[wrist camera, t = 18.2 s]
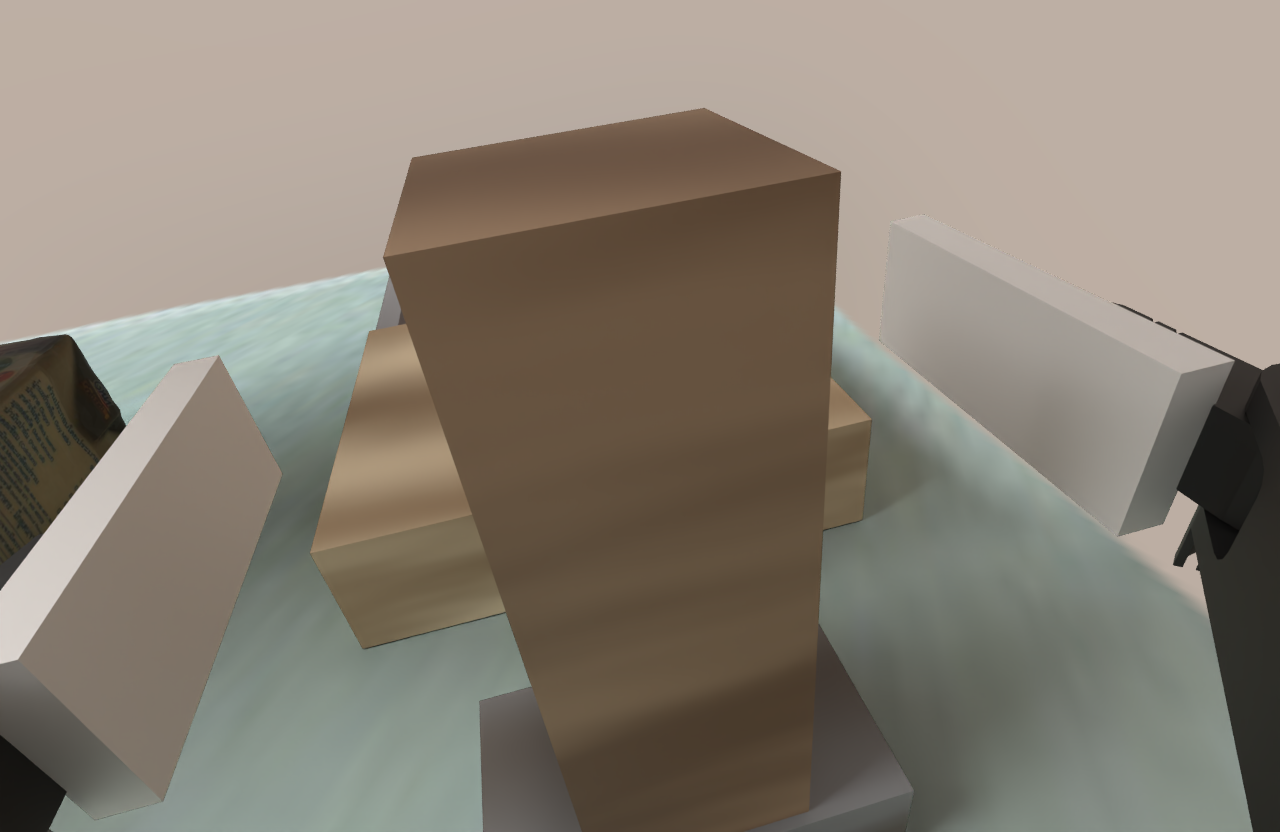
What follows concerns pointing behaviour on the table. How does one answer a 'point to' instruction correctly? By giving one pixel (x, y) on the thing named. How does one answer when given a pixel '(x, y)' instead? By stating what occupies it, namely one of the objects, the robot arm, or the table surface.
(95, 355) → the table surface
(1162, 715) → the table surface
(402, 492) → the board
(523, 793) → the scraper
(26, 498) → the beverage carton
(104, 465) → the robot arm
